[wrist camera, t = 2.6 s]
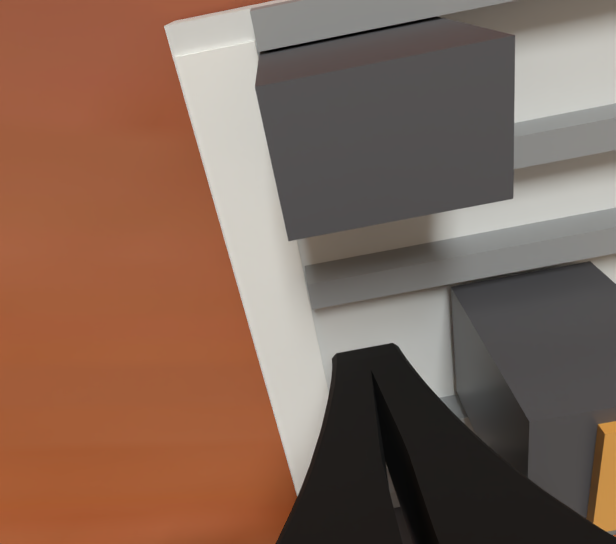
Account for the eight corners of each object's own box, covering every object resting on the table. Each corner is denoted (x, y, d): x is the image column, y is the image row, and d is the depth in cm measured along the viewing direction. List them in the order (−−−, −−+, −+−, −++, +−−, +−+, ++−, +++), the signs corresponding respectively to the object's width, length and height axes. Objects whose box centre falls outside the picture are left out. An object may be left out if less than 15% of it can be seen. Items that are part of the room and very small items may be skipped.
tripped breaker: (580, 369, 13) (703, 525, 9) (456, 391, 13) (530, 555, 9) (590, 261, 11) (741, 396, 8) (450, 286, 12) (535, 432, 8)
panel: (668, 461, 17) (799, 621, 13) (312, 523, 17) (325, 697, 13) (793, -106, 10) (1193, -168, 6) (174, 20, 10) (107, 51, 6)
